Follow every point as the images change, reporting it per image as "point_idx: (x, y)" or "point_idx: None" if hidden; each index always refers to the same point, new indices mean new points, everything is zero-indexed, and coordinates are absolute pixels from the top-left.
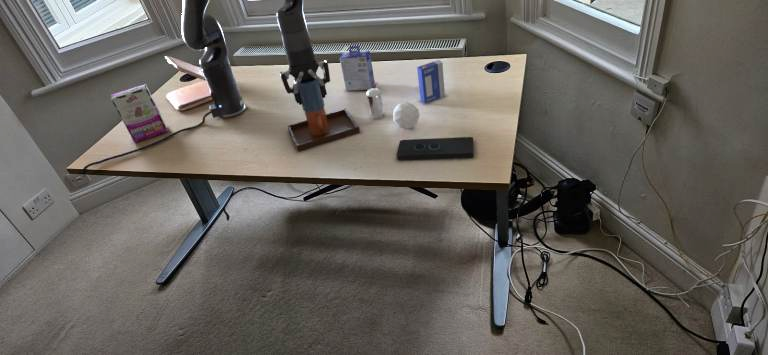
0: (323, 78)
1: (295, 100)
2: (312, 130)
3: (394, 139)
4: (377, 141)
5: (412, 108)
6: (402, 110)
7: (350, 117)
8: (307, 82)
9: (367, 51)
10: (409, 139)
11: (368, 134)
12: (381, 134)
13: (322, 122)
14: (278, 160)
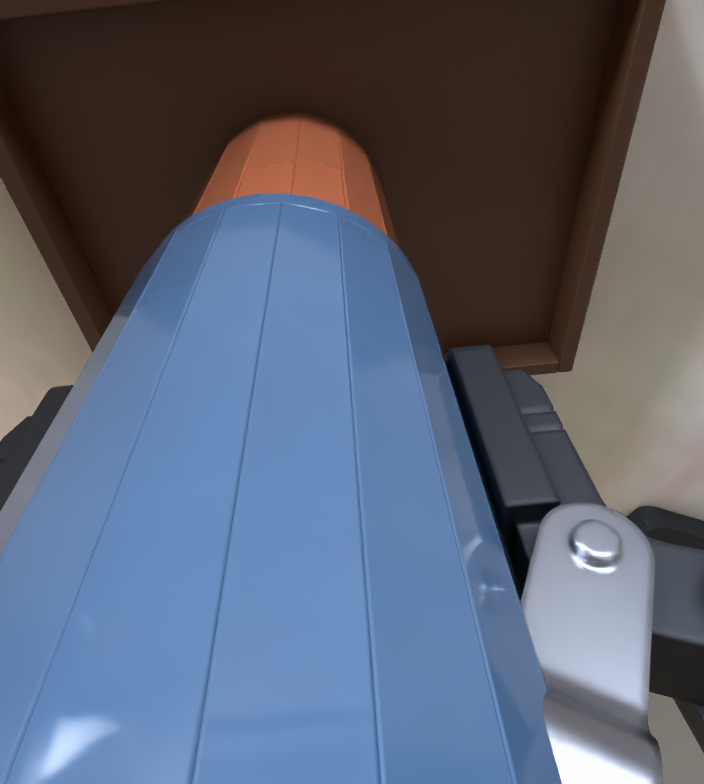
0: (691, 660)
1: (4, 440)
2: None
3: (654, 463)
4: (581, 450)
5: None
6: None
7: (602, 203)
8: (234, 485)
9: None
10: (687, 533)
11: (584, 377)
12: (640, 405)
13: None
14: (23, 414)
